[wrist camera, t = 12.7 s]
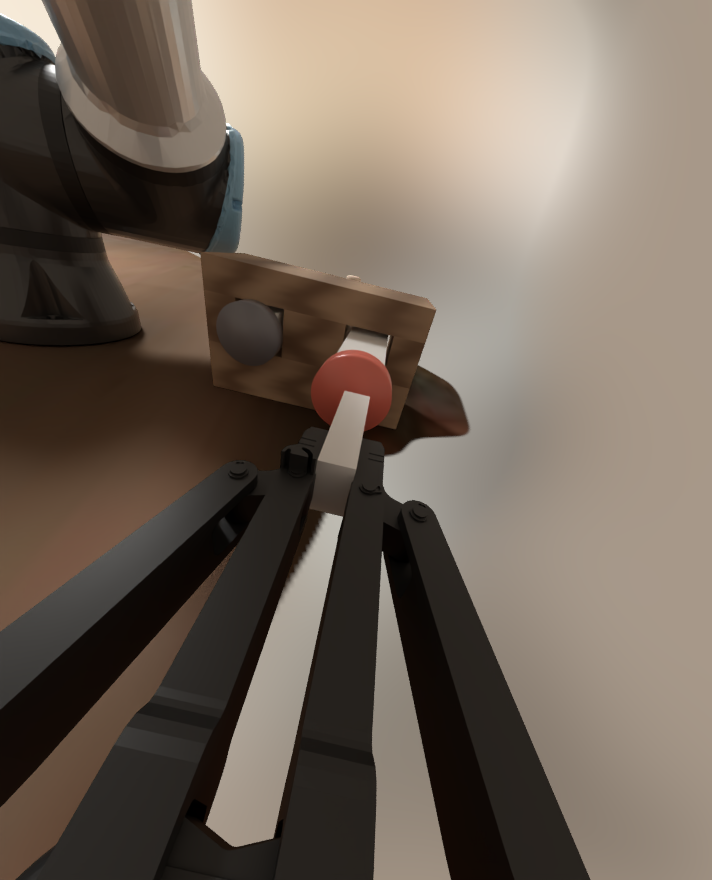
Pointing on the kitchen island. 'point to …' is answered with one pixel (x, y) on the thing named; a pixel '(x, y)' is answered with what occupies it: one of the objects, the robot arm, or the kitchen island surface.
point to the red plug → (355, 377)
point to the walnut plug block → (311, 326)
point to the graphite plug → (250, 331)
